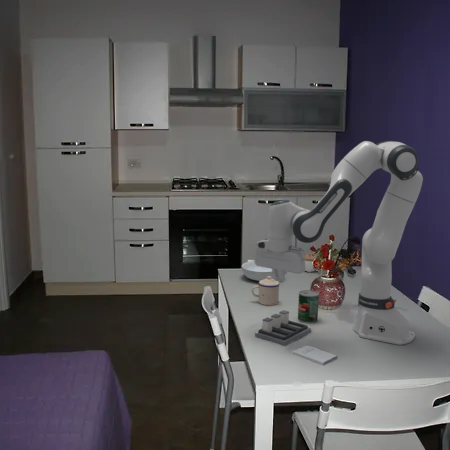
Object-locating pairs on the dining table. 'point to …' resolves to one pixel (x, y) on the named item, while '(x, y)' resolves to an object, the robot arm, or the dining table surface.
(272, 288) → the teacup with lid
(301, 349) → the external hard drive
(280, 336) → the panel
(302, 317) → the canned tomato
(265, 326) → the block
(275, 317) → the block
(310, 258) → the lidded jar
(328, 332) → the dining table surface
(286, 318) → the breaker near
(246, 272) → the serving bowl
